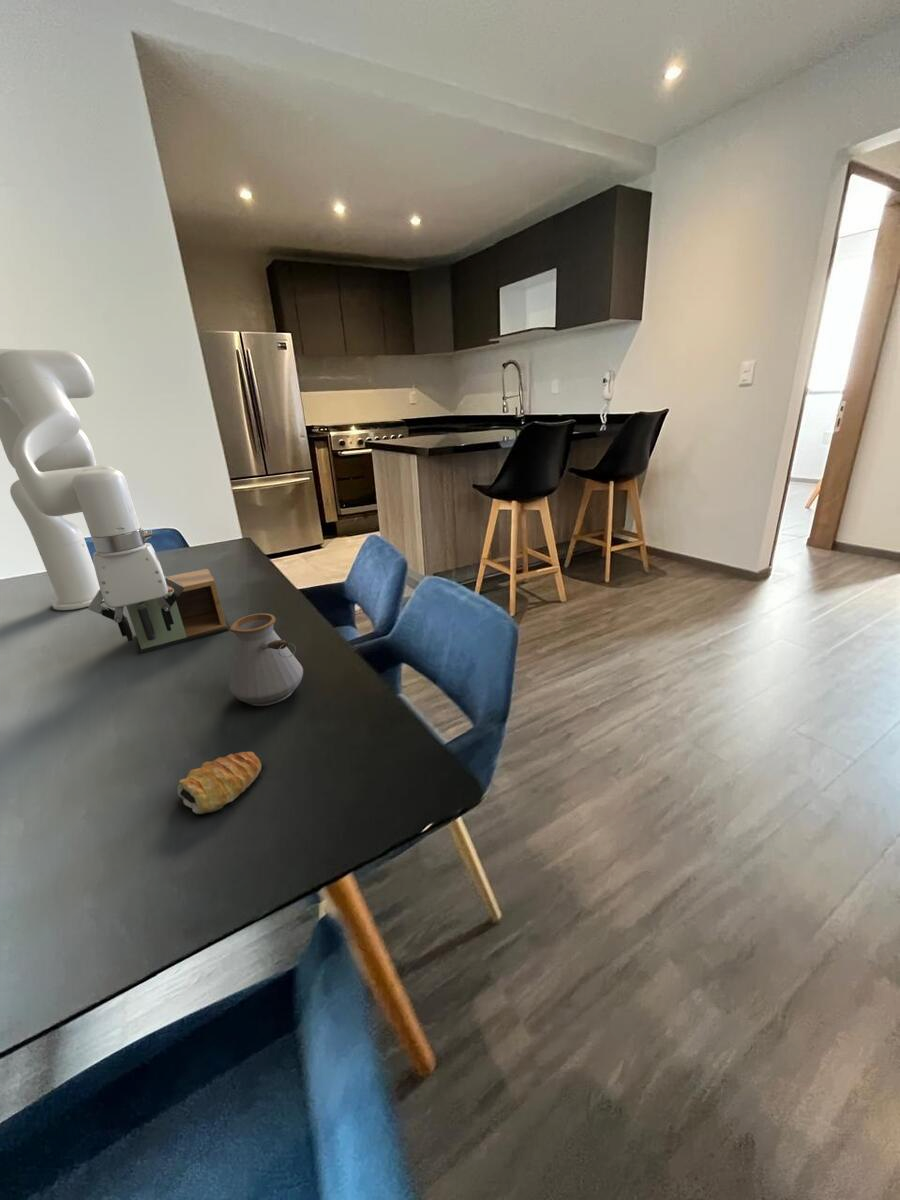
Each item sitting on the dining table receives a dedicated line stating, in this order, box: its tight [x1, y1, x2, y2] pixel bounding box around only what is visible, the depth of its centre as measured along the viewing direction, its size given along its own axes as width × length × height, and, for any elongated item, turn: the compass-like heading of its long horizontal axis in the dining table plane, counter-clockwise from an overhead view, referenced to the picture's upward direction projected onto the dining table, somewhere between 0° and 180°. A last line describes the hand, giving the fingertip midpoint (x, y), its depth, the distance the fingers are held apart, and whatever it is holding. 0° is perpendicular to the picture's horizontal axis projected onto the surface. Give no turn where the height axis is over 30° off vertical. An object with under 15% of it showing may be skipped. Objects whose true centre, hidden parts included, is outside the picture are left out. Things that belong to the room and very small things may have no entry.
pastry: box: [176, 751, 262, 815], centre depth 60 cm, size 9×7×4 cm
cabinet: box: [140, 568, 229, 653], centre depth 103 cm, size 11×16×11 cm
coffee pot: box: [228, 613, 304, 707], centre depth 74 cm, size 21×12×15 cm, turn 37°
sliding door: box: [125, 592, 187, 650], centre depth 95 cm, size 5×8×10 cm, turn 122°
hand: (149, 632), depth 94 cm, fingers open, 5 cm apart
